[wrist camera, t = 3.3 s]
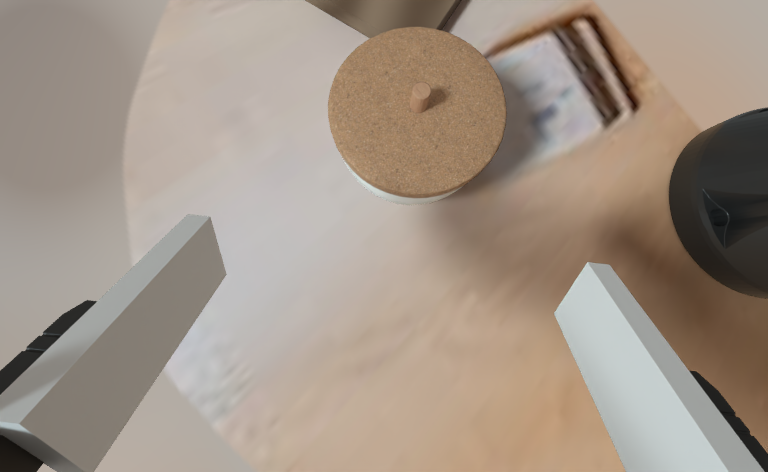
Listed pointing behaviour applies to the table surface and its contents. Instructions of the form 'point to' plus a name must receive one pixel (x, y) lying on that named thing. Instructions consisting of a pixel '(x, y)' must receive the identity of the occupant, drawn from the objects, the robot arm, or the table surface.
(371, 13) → the brown metal plate
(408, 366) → the table surface
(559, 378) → the table surface
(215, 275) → the robot arm
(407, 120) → the lidded jar
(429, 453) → the table surface
